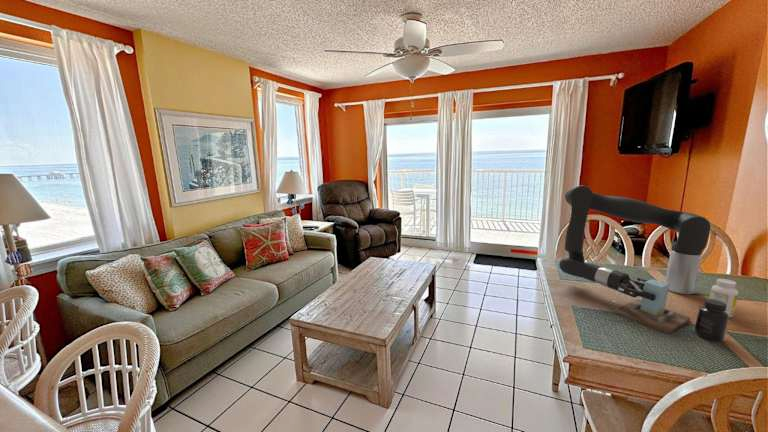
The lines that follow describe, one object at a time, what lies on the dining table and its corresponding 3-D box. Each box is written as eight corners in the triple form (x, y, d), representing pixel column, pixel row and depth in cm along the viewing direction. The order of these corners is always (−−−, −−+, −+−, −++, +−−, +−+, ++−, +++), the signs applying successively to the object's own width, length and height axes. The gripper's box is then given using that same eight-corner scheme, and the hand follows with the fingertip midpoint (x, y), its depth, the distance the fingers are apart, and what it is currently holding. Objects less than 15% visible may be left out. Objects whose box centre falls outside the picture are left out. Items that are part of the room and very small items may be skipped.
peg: (647, 308, 116) (652, 279, 113) (663, 314, 111) (669, 284, 109) (639, 311, 114) (644, 281, 111) (656, 318, 109) (661, 287, 107)
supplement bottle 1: (725, 310, 115) (732, 278, 113) (738, 319, 109) (746, 286, 106) (702, 307, 117) (709, 276, 115) (713, 316, 111) (721, 283, 109)
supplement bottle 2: (730, 343, 97) (738, 308, 94) (704, 341, 98) (712, 307, 95) (712, 330, 103) (719, 298, 101) (688, 328, 105) (694, 296, 102)
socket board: (637, 301, 123) (638, 295, 123) (690, 320, 109) (691, 314, 108) (614, 311, 116) (615, 305, 116) (667, 333, 102) (668, 326, 102)
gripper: (602, 273, 120) (652, 290, 105) (622, 266, 126) (673, 281, 111) (599, 291, 121) (649, 309, 107) (620, 283, 127) (669, 300, 113)
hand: (661, 295), depth 109 cm, fingers open, 8 cm apart
